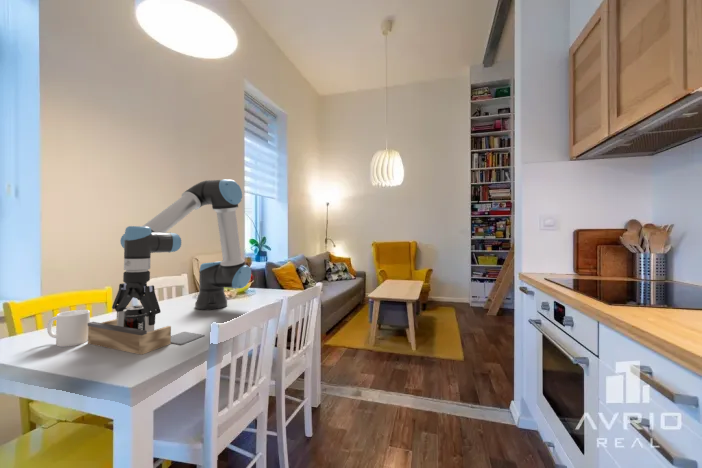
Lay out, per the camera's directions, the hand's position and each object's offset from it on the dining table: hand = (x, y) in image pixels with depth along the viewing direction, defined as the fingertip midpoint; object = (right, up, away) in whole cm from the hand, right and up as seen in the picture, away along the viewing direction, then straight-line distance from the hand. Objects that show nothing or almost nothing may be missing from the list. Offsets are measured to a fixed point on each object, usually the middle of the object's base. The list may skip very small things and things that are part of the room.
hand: (135, 332), depth 104 cm
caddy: (-1, -3, -2) cm, 4 cm away
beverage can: (0, -4, 0) cm, 4 cm away
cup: (-22, -3, -2) cm, 22 cm away
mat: (+14, -4, +4) cm, 15 cm away
